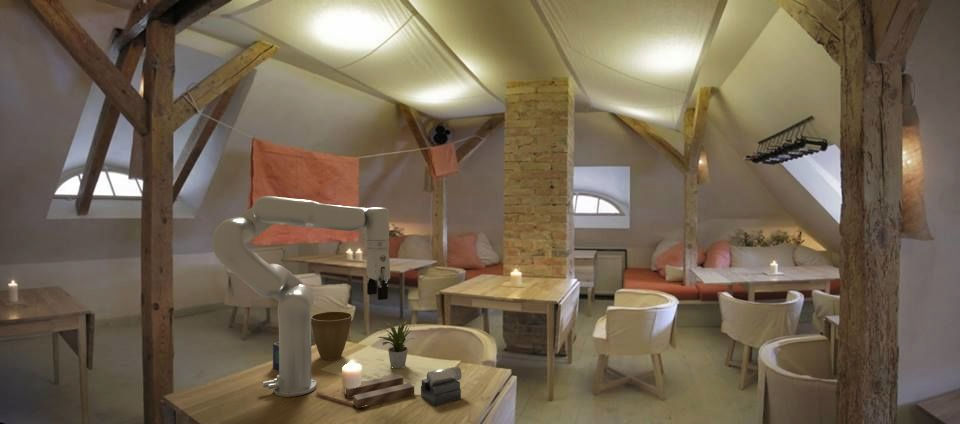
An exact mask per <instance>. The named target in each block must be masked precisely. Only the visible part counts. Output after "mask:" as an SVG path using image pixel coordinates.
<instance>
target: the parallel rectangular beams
mask: <svg viewBox="0 0 960 424" xmlns="http://www.w3.org/2000/svg"><path fill="white" fill-rule="evenodd" d="M346 395H347V396H348V397H351V398H353V399H352V401H353V403H354V404H355V406H354V407H355V408H356V409H357V410H358V409H362V408H361V407H362V406H365V405H368V406H367V407H370V406H371V407H372V406H374V405H375V406H376V405H378V404H382V403H386V402H389V401H394V400H399V399H402V398H406V397H407V398H408V397H411V396H414V395H415V385H413V384H412V383H411V382H406V383H404V377H403V376H402V375H401V374H400V373H398V374H393V375H389V376H383V377H380V378H379V377H377V378H375V379H371V380H365V381H361V385H360V386H359V387H356V388H346ZM346 395H345V396H346ZM347 396H346V397H347ZM352 396H353V397H352ZM348 397H347V398H348ZM354 404H353V405H354Z"/></svg>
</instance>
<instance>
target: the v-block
mask: <svg viewBox="0 0 960 424" xmlns="http://www.w3.org/2000/svg"><path fill="white" fill-rule="evenodd" d="M420 396H421V397H422V398H423V399H424V400H426V401H427V402H428V403H429V404H431V405H432V406H434V407H437V406H441V405H445V404H448V403H452V402H453V403H454V402H456V401H459V400H461V399H462V389H461V382H460V380H453V381H448V382H444V383H440V384H436V385H432V386H430V385H429V384H428V382H427V378H425V379H421V385H420Z"/></svg>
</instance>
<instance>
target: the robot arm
mask: <svg viewBox="0 0 960 424" xmlns="http://www.w3.org/2000/svg"><path fill="white" fill-rule="evenodd" d="M273 225H283V226H292V227H293V226H295V227H301V228H310V229H315V228H317V229H326V230H336V231H345V232H346V231H347V232H356V231H359V230H361V229H365V250H366V251H367V252H366V277H367V279H366V282H367V283H366V288H367V289H366V293H367V295H368V296H369V295H376V294H377V300H378V301H382V300H388V298H389V283H390V281H389V280H391V261H390V253H389V252H390V251H389V250H390V210H389V209H388V208H386V207H367V208H366V207H358V206H346V205H345V206H343V205H336V204H326V203H320V202H317V201H315V200H310V199H299V198H289V197H282V196H281V197H279V196H274V195H263V196H261V197H258V198H257V199H256V200H255V201H254V202H253V205H252V207H251V208H249V209H247V210H246V211H244V212H243V213H241V214H240V215H238V216H236V217H231V218H227V219H225V220H223V221H222V222H220V223H219V225H218V226H217V227H216V228H215V230H214V232H213V236H212V244H211V245H212V249H213V253H214V255H215V257H216V258H217V259H218V261H219V262H220V263H221V264H222V265H223V266H224V267H225V268H227V269H228V270H229V271H230V272H231V273H233V274H234V275H235V276H236V277H237V278H238V279H240V281H242V282H243V283H244V284H245V285H247V286H248V287H249V288H250V289H251V290H252V291H254V292H255V293H256V294H257V295H259V296H261V297H262V298H267V299H268V298H272V297H273V298H274V299H275V300H277V302H278V305H277V321H278V342H279V371H278V374H277V375H276V377H275V378H274V377H273V379H271V380H265V381H262V389H265V388H267V389H268V390H271V389H273V393H274V394H275V395H276V396H279V397H284V398H285V397H286V398H287V397H288V398H289V397H290V398H291V397H299V396H302V395H306V394H309V393H311V392H312V391H314V390H315V389H316V388H317V386H318V384H317V381H316V380H315V379H313V378H312V322H311V316H312V307H313V304H314V298H315V297H314V293H313V291H312V290H311V288H310V287H309V286H308V285H307V284H305V283H304V282H303V281H302V280H300V279H299V278H298V277H297V276H296V275H295V274H293V273H292V272H291V271H290V270H288V269H287V268H286V267H285V266H283V265H280V264H277V263H268V261H266V260H264V259H263V258H262V257H261V256H260V255H258V254H257V253H256V252H255V251H253V250H252V249H251V248H249V247H248V246H247V244H246V243H248V242H250V241H252V240H253V239H255V238H256V237H258V236H259V235H260V234H262V233H263V232H264V231H266V230H268V229H269V228H270V227H273Z"/></svg>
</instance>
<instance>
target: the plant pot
mask: <svg viewBox="0 0 960 424" xmlns="http://www.w3.org/2000/svg"><path fill="white" fill-rule="evenodd" d="M352 319H353V315H352V313H350V312H346V311H326V312H319V313H314V314H312V315H311V330H312V333H313V337H314V343H315V346H316V349H317V352H318V354H319V357H320V359H321V360H324V361H334V360H338V359H340V358H342V355H343V352H344V350H345V347H346V345H347V341H348V337H349V334H350V329H351V324H352Z"/></svg>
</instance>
